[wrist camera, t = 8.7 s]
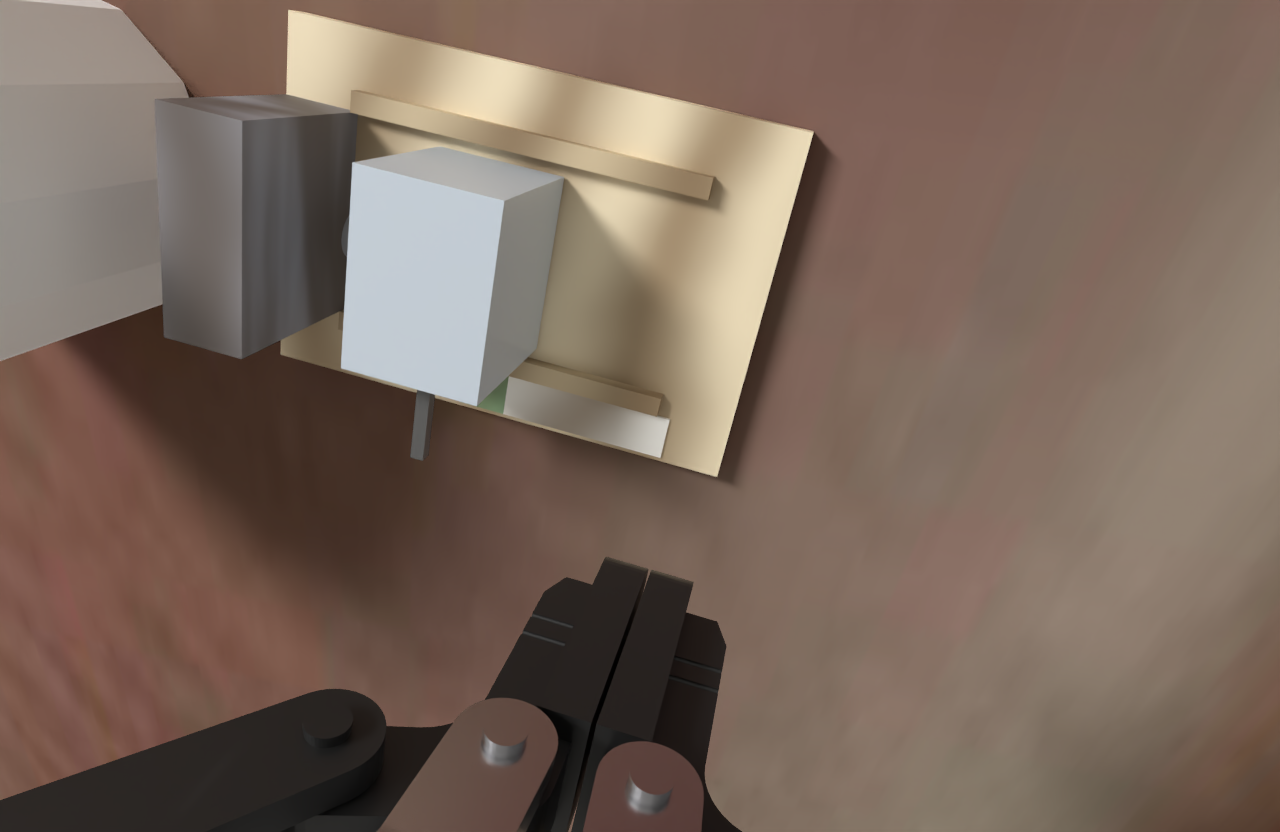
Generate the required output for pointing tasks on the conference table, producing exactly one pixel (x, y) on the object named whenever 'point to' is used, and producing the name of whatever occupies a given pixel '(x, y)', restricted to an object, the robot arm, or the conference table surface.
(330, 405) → the conference table surface
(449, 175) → the block
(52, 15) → the container
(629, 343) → the wooden sliding jig
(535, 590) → the conference table surface
